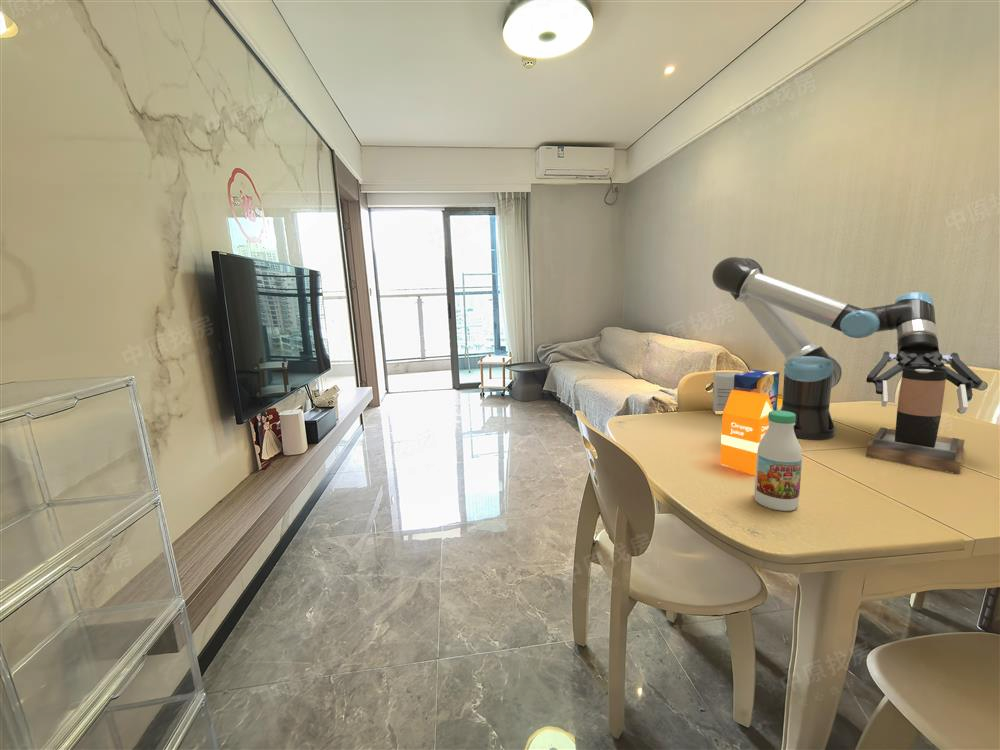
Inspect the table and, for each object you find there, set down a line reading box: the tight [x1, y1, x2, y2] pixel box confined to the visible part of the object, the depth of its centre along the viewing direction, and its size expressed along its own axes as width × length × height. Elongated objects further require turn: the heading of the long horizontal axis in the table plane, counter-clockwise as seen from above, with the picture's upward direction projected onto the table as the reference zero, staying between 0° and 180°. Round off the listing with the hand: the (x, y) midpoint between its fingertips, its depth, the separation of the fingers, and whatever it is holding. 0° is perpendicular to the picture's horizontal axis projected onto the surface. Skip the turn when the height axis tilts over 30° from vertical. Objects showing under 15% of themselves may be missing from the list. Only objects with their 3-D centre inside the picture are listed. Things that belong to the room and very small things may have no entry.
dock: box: [865, 426, 966, 475], centre depth 103 cm, size 16×23×5 cm
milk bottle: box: [753, 409, 803, 512], centre depth 81 cm, size 8×8×20 cm
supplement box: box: [712, 371, 741, 412], centre depth 145 cm, size 9×9×15 cm
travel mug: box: [894, 366, 947, 448], centre depth 98 cm, size 8×8×20 cm
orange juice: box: [719, 390, 773, 476], centre depth 99 cm, size 8×9×20 cm
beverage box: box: [734, 369, 780, 411], centre depth 110 cm, size 7×11×22 cm, turn 123°
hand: (922, 407), depth 96 cm, fingers open, 13 cm apart
